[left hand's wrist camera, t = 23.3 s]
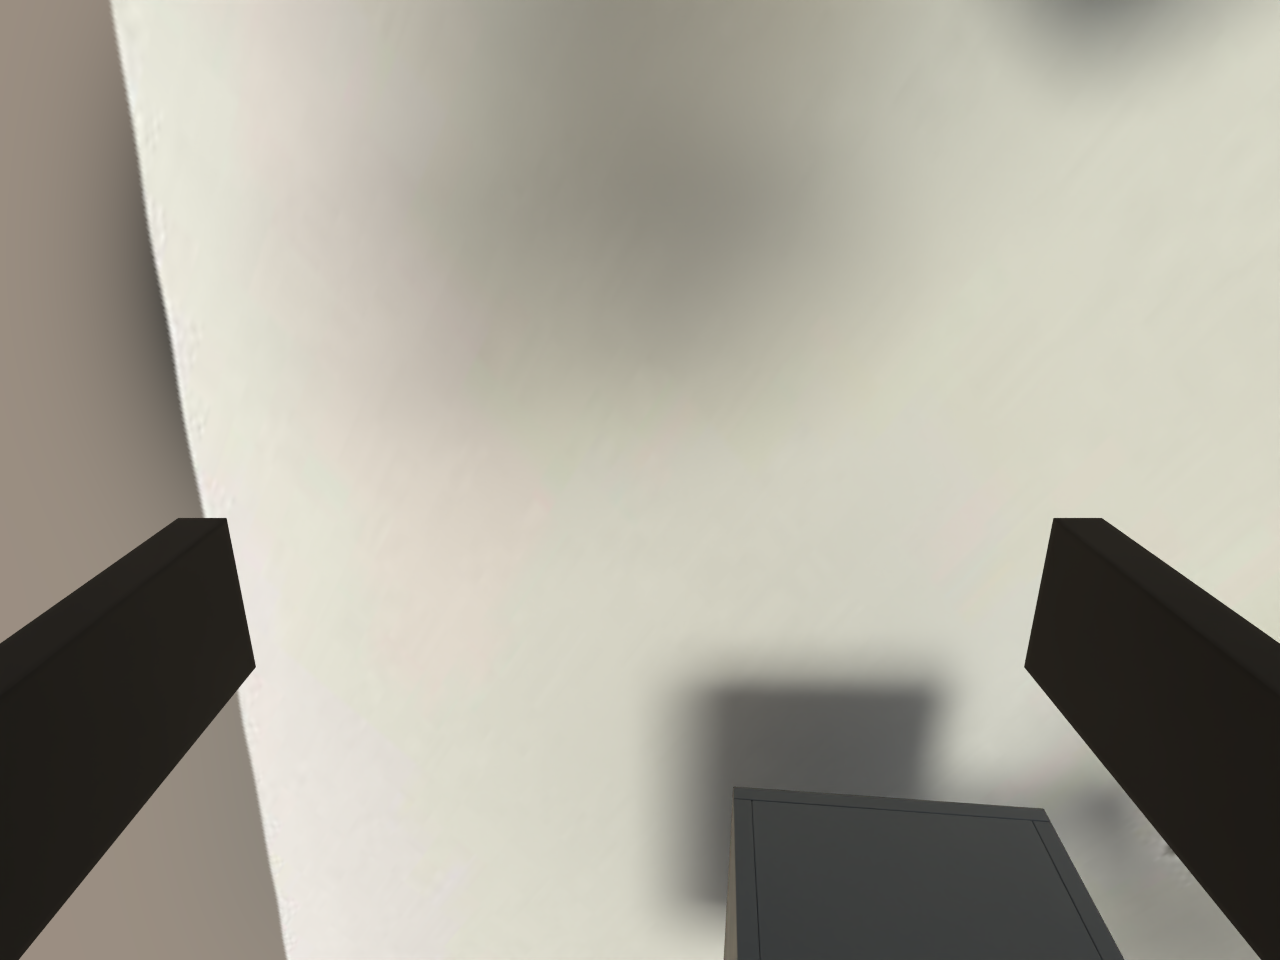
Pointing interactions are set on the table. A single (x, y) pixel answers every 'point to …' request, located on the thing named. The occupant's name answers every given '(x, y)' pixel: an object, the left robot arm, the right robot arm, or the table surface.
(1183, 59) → the table surface
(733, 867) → the tote
